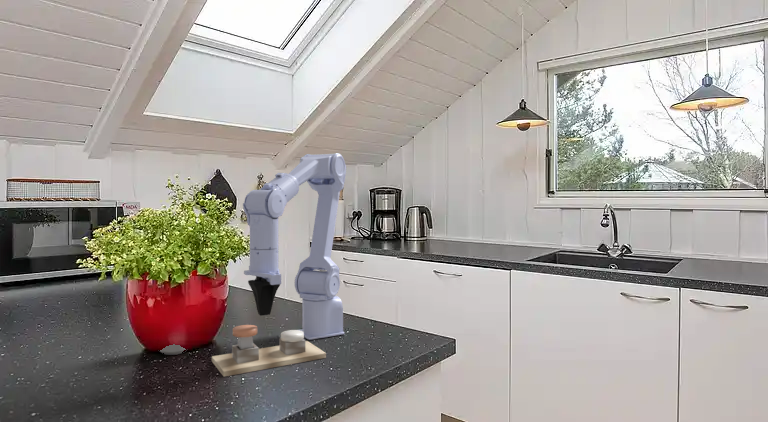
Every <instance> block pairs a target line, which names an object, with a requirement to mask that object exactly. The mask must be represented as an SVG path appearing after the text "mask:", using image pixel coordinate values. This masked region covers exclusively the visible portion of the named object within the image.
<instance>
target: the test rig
mask: <svg viewBox="0 0 768 422" xmlns="http://www.w3.org/2000/svg"><path fill="white" fill-rule="evenodd" d="M278 341H279V342H278V343H279V345H275V346H268V347H261V348H260V347H258V346H257V345H256V344H255V343H254V342H253V347H252V348H245V349H240V348H239V347H238V344H234V345H231V353H226V354H225V353H224V354H219V355H212V356H211V362H212V364H213V365H214V366H215V368H217V370H218V371H219V372H220V374H221V375H222V376H223V377H230V376H235V375H242V374H245V373H251V372H257V371H262V370H267V369H274V368H277V367H283V366H290V365H295V364H300V363H305V362H310V361H311V362H312V361H315V360H316V361H317V360H321V359H326V358H327V352H325V351H323V350H322V349H321V348H319V346H318V347H317V346H316V345H315V344H313V343H311V342H310V341H308V340H306V339H305V338H304V339H303V340H301V341H297V342H284V341H282V340H281V337H279V340H278Z"/></svg>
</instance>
